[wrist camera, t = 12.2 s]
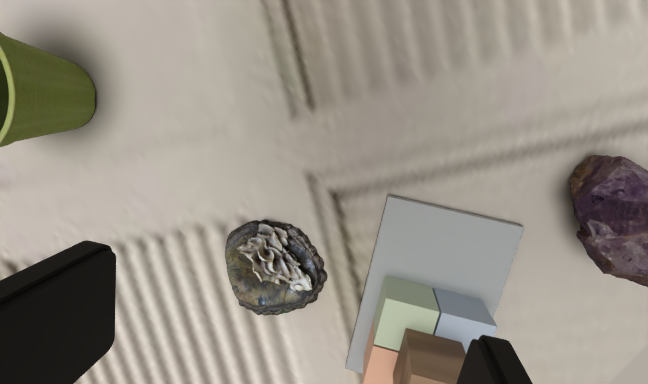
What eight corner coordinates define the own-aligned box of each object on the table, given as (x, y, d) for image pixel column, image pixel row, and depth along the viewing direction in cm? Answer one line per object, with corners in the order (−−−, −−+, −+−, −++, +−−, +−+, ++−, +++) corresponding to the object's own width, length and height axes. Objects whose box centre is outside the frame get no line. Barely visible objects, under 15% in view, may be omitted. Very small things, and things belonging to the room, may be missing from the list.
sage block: (384, 275, 36) (385, 298, 32) (431, 286, 36) (439, 312, 31) (374, 316, 38) (373, 344, 33) (419, 328, 37) (425, 358, 32)
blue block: (433, 287, 36) (441, 312, 31) (481, 299, 36) (497, 326, 31) (421, 328, 37) (427, 358, 32) (467, 340, 37) (480, 373, 32)
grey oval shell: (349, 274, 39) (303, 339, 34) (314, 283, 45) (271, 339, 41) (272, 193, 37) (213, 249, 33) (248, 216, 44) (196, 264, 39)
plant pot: (133, 71, 37) (32, 52, 26) (95, 168, 40) (-11, 186, 29) (38, 14, 37) (-101, -29, 26) (7, 114, 40) (-130, 113, 29)
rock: (590, 137, 33) (526, 227, 35) (644, 132, 25) (556, 249, 27) (721, 202, 31) (644, 293, 33) (828, 219, 23) (716, 338, 25)
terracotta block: (373, 317, 38) (373, 346, 33) (418, 329, 37) (424, 360, 33) (363, 356, 39) (361, 388, 34) (407, 368, 38) (411, 402, 34)
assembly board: (387, 194, 36) (388, 196, 35) (520, 224, 34) (524, 227, 34) (346, 362, 40) (345, 368, 39) (461, 394, 39) (463, 401, 38)
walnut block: (405, 327, 32) (411, 373, 26) (461, 342, 32) (480, 392, 26) (392, 374, 33) (395, 428, 27) (446, 388, 33) (461, 447, 27)
